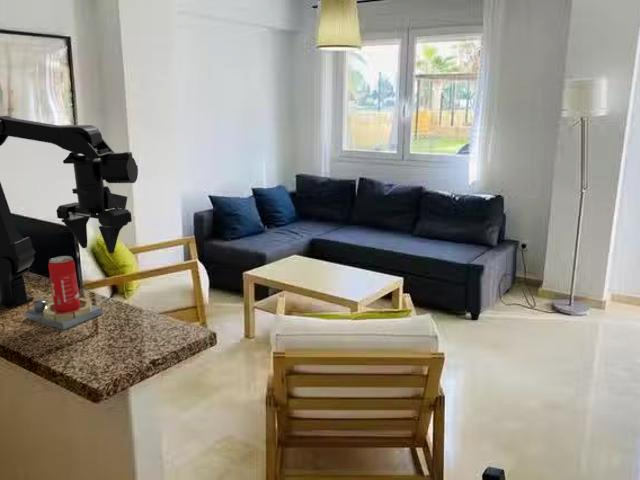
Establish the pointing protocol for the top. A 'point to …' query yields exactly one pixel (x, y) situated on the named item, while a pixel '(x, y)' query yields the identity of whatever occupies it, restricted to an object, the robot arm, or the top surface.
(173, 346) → the top surface
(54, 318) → the grey plate with ring
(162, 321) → the top surface
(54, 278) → the beverage can
